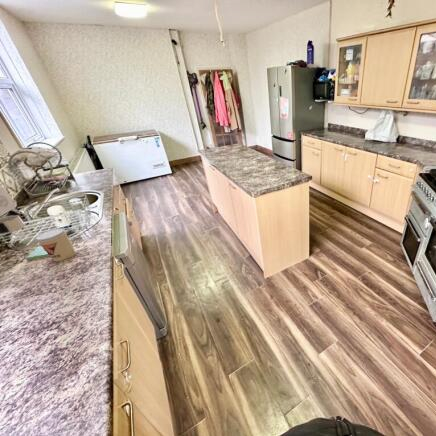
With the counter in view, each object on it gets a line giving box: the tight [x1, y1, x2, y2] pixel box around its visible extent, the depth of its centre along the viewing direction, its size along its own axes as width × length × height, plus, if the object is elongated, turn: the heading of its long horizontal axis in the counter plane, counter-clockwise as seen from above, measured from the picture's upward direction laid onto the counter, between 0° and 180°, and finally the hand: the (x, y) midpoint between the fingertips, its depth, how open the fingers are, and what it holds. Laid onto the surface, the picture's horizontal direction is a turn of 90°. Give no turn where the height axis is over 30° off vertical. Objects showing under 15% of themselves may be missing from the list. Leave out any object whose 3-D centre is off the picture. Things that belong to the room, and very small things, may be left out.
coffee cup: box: [35, 227, 76, 262], centre depth 102 cm, size 9×9×12 cm
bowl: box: [0, 215, 26, 234], centre depth 89 cm, size 7×7×4 cm
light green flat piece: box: [25, 245, 50, 261], centre depth 108 cm, size 12×10×3 cm
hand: (11, 227), depth 90 cm, fingers closed on bowl, 7 cm apart
